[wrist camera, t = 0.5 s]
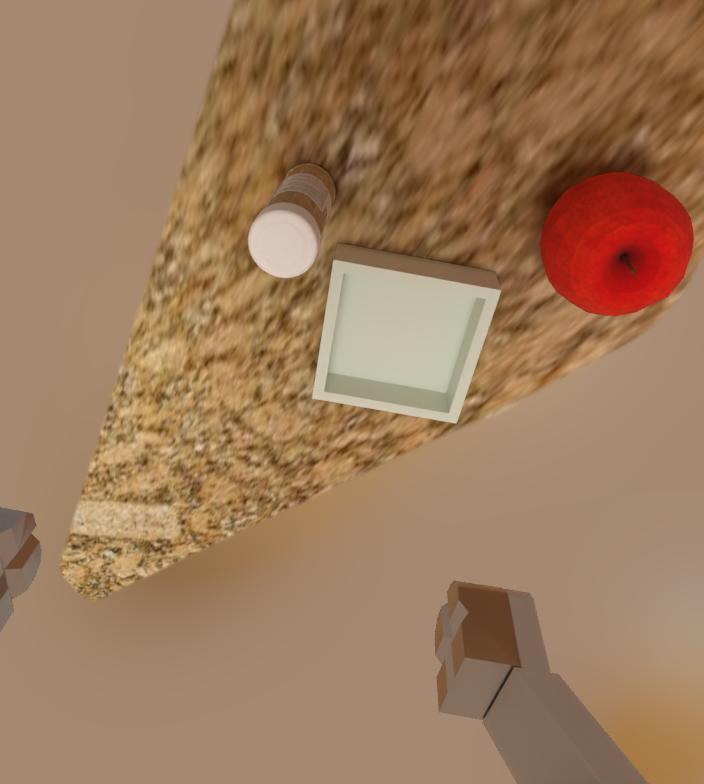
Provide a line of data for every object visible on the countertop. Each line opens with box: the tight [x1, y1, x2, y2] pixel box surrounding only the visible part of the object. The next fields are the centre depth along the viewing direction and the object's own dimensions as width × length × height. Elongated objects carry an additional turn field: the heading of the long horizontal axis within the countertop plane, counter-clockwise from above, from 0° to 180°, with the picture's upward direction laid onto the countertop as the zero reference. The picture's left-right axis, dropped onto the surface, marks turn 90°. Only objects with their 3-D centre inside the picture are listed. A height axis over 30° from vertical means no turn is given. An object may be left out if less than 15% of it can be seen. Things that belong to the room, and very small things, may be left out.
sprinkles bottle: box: [248, 163, 336, 278], centre depth 42 cm, size 5×5×14 cm
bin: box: [312, 243, 501, 423], centre depth 53 cm, size 14×14×4 cm
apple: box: [540, 172, 694, 316], centre depth 42 cm, size 10×10×12 cm
